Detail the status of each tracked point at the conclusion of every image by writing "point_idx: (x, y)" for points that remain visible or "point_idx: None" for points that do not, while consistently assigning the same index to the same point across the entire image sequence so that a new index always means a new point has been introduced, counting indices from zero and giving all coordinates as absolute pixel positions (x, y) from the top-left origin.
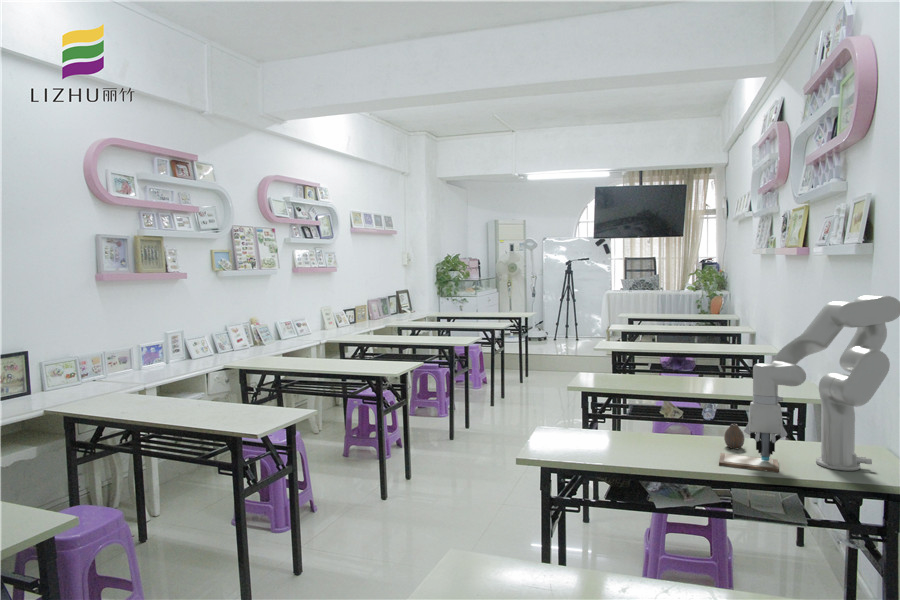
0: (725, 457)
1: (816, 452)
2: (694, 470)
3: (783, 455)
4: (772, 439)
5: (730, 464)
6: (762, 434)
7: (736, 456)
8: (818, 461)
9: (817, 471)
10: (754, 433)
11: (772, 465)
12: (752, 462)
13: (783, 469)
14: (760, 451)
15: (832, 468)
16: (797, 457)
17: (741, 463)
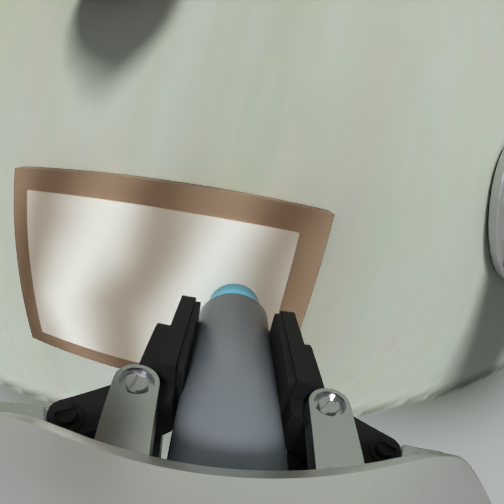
0: (33, 267)
1: (501, 32)
2: (14, 381)
3: (395, 49)
4: (290, 467)
5: (70, 349)
6: None
7: (73, 228)
8: (498, 218)
9: (443, 314)
10: (92, 435)
11: None
12: None
13: (314, 337)
14: None
15: (498, 273)
16: (450, 88)
17: (107, 354)
